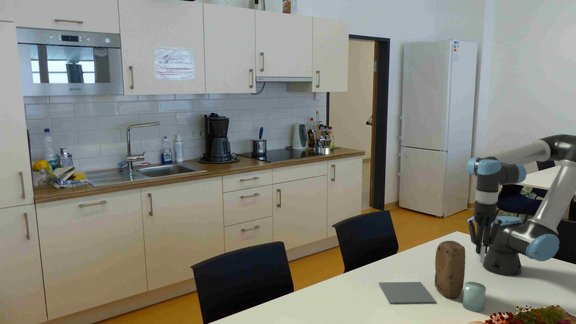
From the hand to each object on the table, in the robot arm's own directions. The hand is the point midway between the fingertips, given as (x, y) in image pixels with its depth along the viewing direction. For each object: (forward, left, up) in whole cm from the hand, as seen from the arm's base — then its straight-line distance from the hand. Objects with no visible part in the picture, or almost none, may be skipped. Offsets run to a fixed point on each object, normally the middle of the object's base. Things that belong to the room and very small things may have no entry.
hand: (480, 261), depth 163 cm
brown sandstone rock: (+12, 0, -13) cm, 17 cm away
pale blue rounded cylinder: (+7, +11, -13) cm, 18 cm away
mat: (+28, 0, -13) cm, 31 cm away
